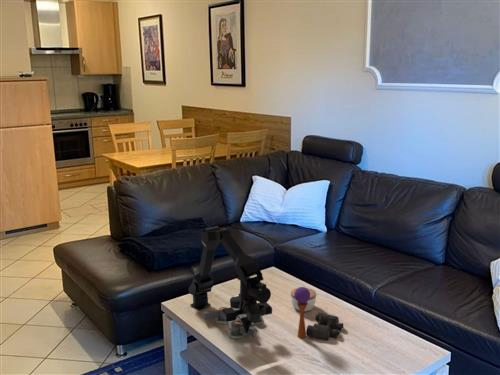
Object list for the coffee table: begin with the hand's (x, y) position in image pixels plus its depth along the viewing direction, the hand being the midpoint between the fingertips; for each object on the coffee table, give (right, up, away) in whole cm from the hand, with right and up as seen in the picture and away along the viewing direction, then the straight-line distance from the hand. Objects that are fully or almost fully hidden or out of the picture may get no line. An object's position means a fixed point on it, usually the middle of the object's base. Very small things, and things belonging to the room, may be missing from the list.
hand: (246, 332), depth 185 cm
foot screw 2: (+4, +1, +18) cm, 19 cm away
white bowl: (+24, +2, +26) cm, 35 cm away
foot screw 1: (-12, +1, +16) cm, 20 cm away
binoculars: (+31, -2, +8) cm, 32 cm away
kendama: (+21, -3, +3) cm, 22 cm away
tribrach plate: (-4, -1, +13) cm, 14 cm away
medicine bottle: (-3, -1, +12) cm, 12 cm away
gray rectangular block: (-1, -2, +3) cm, 4 cm away
